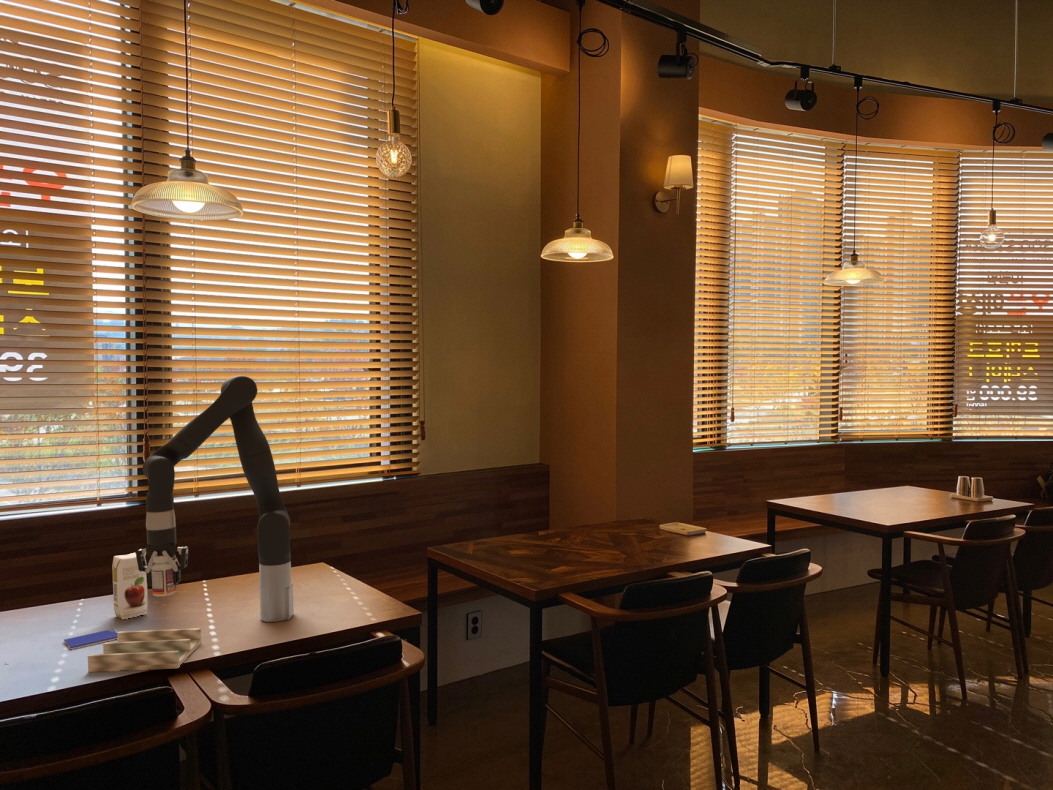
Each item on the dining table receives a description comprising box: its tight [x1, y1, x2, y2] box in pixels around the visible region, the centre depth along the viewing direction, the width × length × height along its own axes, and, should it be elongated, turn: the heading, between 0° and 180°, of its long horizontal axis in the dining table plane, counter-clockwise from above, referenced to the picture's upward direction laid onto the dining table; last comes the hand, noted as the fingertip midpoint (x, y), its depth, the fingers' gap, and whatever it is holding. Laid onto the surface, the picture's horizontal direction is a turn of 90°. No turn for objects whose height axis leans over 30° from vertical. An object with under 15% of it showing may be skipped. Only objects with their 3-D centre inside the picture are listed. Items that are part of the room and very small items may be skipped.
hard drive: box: [63, 628, 118, 650], centre depth 219 cm, size 2×8×12 cm
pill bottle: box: [151, 555, 177, 597], centre depth 220 cm, size 6×6×11 cm
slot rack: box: [87, 627, 202, 673], centre depth 206 cm, size 22×18×4 cm
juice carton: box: [111, 551, 149, 620], centre depth 240 cm, size 8×9×19 cm
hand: (163, 584), depth 220 cm, fingers closed on pill bottle, 6 cm apart
